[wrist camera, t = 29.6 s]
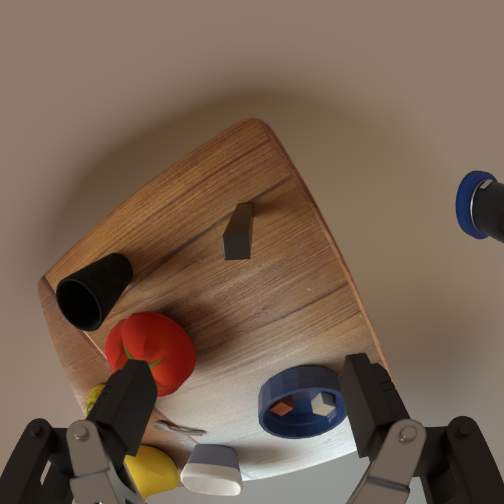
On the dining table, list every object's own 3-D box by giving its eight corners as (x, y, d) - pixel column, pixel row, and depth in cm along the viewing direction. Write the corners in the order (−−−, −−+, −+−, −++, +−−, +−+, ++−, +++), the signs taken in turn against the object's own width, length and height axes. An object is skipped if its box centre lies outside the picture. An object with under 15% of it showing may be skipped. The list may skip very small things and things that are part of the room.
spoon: (153, 418, 52) (151, 424, 50) (203, 427, 53) (202, 433, 51) (154, 424, 52) (152, 430, 51) (202, 432, 54) (202, 439, 52)
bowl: (191, 461, 59) (185, 491, 48) (183, 437, 54) (175, 472, 43) (244, 466, 59) (243, 497, 48) (245, 442, 54) (243, 479, 43)
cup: (147, 277, 40) (113, 318, 28) (118, 298, 41) (83, 339, 30) (118, 237, 38) (73, 266, 26) (90, 262, 39) (47, 294, 28)
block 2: (332, 395, 47) (335, 407, 44) (322, 404, 48) (325, 416, 45) (320, 391, 46) (323, 403, 43) (310, 401, 47) (312, 412, 44)
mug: (130, 417, 52) (115, 453, 41) (92, 394, 51) (72, 428, 39) (144, 395, 49) (127, 436, 38) (100, 368, 47) (77, 407, 36)
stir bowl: (348, 358, 44) (357, 381, 38) (336, 412, 49) (342, 433, 44) (256, 367, 45) (255, 391, 39) (260, 419, 50) (260, 441, 44)
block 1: (292, 396, 47) (293, 408, 44) (280, 404, 47) (281, 416, 44) (280, 389, 46) (281, 402, 43) (268, 397, 47) (269, 410, 44)
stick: (252, 202, 36) (248, 234, 21) (253, 217, 36) (250, 259, 21) (237, 203, 36) (222, 236, 21) (238, 218, 36) (224, 260, 21)
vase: (114, 432, 56) (93, 482, 38) (171, 442, 55) (156, 500, 37) (138, 461, 62) (124, 505, 44) (190, 469, 61) (181, 518, 43)
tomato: (216, 330, 42) (206, 372, 33) (172, 381, 47) (159, 419, 37) (140, 281, 40) (112, 313, 30) (109, 341, 44) (86, 375, 35)
